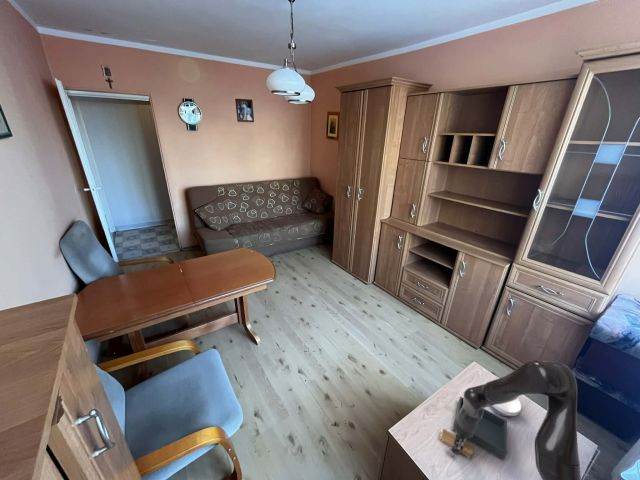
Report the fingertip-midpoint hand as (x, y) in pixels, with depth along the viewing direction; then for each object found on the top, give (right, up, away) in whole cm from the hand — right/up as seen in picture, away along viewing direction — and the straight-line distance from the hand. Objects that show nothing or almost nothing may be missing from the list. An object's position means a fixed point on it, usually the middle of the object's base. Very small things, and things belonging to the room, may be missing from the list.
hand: (455, 445), depth 115 cm
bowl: (+31, +5, +17) cm, 36 cm away
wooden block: (-1, -1, -1) cm, 2 cm away
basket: (+14, +2, +7) cm, 16 cm away
